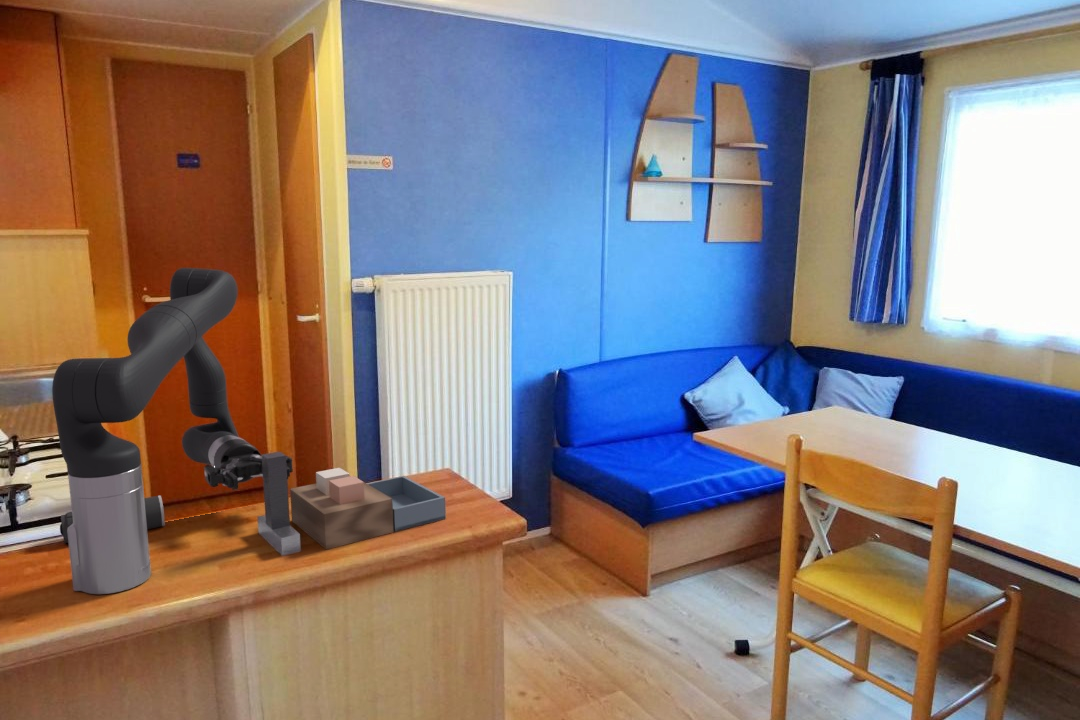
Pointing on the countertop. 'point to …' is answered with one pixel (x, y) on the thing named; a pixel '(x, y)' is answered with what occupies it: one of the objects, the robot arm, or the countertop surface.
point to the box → (411, 502)
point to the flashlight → (151, 507)
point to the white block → (329, 478)
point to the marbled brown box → (341, 516)
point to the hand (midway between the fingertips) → (261, 479)
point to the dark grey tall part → (277, 506)
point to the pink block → (346, 489)
